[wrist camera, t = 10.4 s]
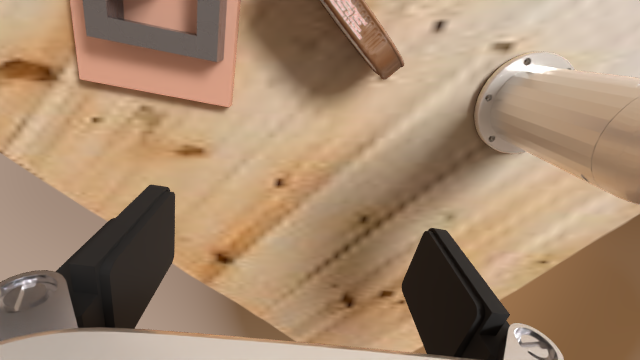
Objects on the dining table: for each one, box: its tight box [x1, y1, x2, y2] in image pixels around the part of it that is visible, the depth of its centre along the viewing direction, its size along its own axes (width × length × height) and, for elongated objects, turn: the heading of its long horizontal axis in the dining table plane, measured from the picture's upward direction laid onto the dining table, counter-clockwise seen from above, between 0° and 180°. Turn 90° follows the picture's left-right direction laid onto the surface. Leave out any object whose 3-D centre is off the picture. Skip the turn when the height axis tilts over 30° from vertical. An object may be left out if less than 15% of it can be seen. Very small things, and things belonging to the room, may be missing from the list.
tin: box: [320, 0, 404, 79], centre depth 29 cm, size 15×3×8 cm, turn 41°
